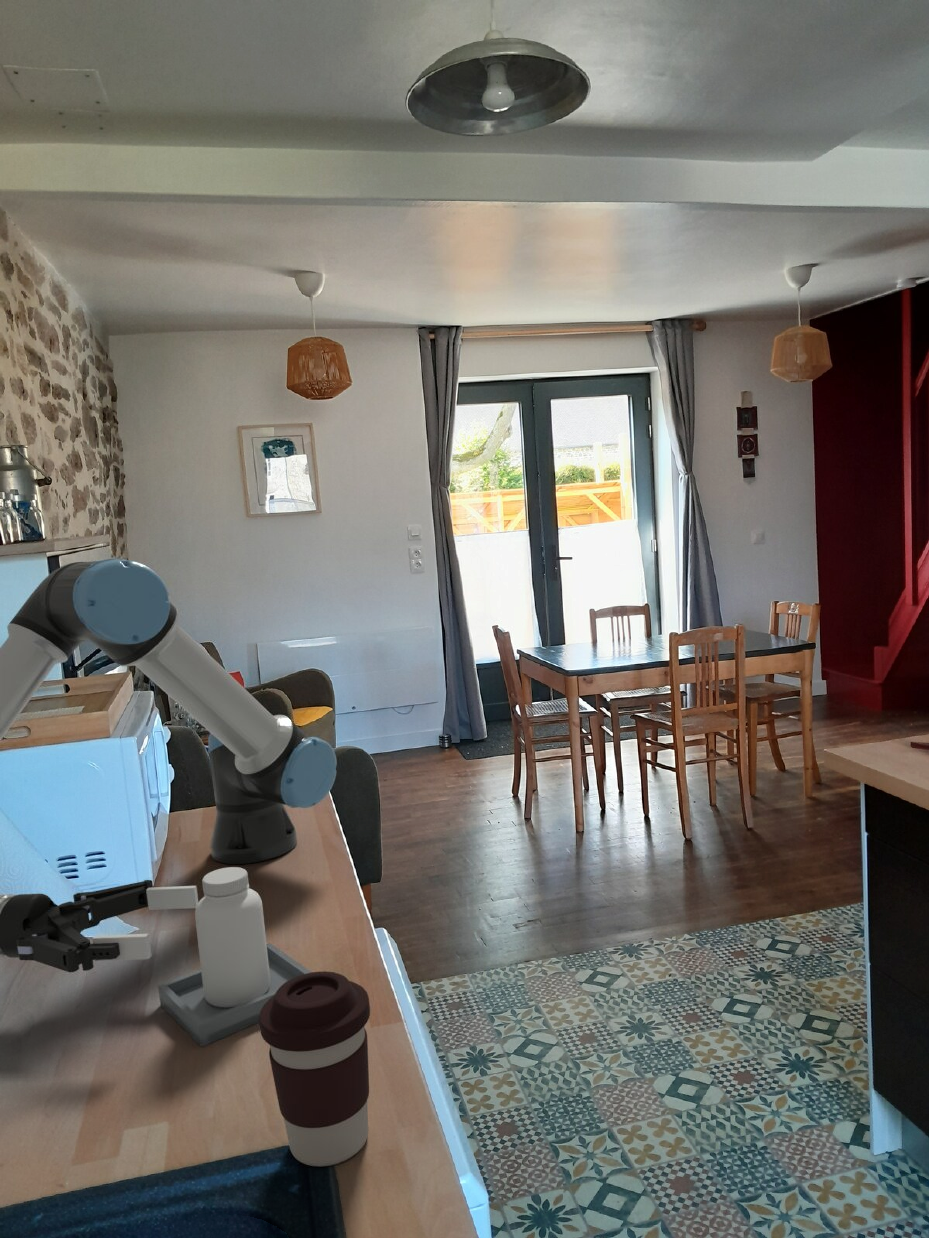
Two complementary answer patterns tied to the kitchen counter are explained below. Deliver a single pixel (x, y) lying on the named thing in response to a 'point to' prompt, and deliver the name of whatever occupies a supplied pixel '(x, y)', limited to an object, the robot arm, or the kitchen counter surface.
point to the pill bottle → (231, 939)
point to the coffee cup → (320, 1064)
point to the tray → (217, 1022)
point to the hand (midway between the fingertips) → (174, 920)
